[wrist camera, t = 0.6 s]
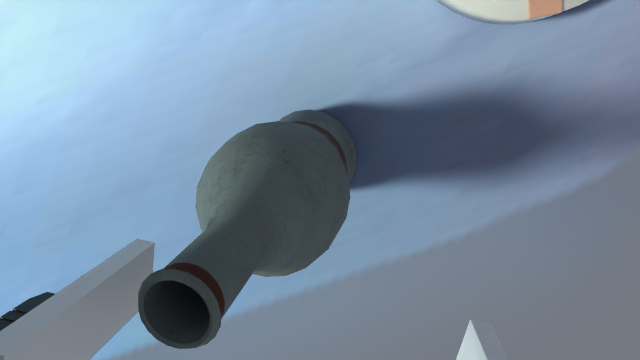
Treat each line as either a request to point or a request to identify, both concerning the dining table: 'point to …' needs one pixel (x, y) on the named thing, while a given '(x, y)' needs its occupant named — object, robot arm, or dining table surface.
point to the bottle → (253, 222)
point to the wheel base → (509, 9)
